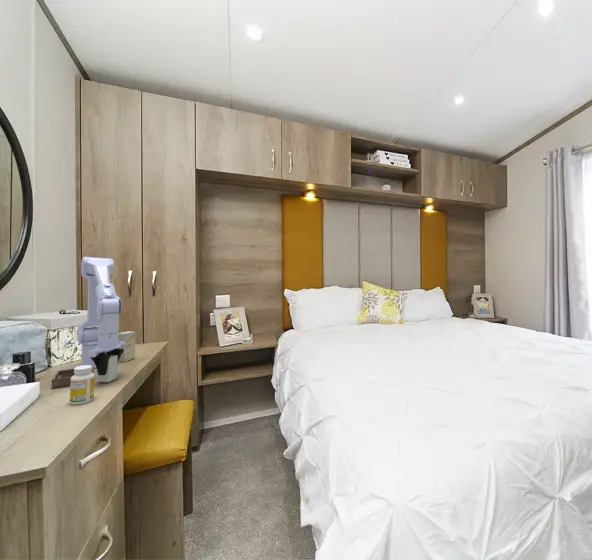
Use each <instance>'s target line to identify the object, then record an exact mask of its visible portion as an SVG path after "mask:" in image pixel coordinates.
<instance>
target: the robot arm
mask: <svg viewBox="0 0 592 560" xmlns="http://www.w3.org/2000/svg"><path fill="white" fill-rule="evenodd" d="M114 269H115V262H114V259H113V258H109V257H108V258H107V257H91V256H83V257H82V258H81V263H80V275H81V277H82V278H83V279H86V282H87V308H86V309H87V315H86V316H87V319H85V320H84V321H82V322H81V323H79V325H78V326H77V327H78V328H77V333H76V334H77V335H76V336H77V337H76V338H77V339H76V340H77V344H79V345H81V362H80V363H81V364H78V365H76V366H75V367H74V368H76V367H78V366H83V365H91V366H94V369H96V372H97V371H98V375H106V372H107V365H108V361H109V358H110V356H111V355H118V360H117V365H118V364H119V362H118V361H119V359H120V357H121V355H122V353H123V352H124V349H120V348H121V347H125V341H120V342H118V333H119V328H120V327H119V326H120V325H119V323H120V314H121V313H122V307H123V306H122V304H123V303H122V299H121V298H120V297H119V295H117V292H116V288H115V285H114V284H113V283H111V282H110V276H111V275H112V274H113V272H114V271H115V270H114Z"/></svg>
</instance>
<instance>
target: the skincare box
mask: <svg viewBox="0 0 592 560" xmlns="http://www.w3.org/2000/svg"><path fill="white" fill-rule="evenodd" d="M120 341H125V347H121V348H120V349H124V352H123V353H122V355H121V357H120V359H119V362H118V363H126V362H129V361H132V360H131V359H133V358H135V359H136V331H130V330H128V331H127V330H126V331H123V332H122V331H121V332H118V342H120ZM128 360H129V361H128ZM133 360H134V359H133ZM125 361H126V362H125Z"/></svg>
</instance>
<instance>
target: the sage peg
mask: <svg viewBox="0 0 592 560" xmlns="http://www.w3.org/2000/svg"><path fill="white" fill-rule="evenodd" d="M117 360H118V355H111V356H110V358H109V361H108V365H107V372H106V375H98V371H97V370H96V382H97V383H110V382H111V381H113V380H116V379H118V364H117Z"/></svg>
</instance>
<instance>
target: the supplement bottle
mask: <svg viewBox="0 0 592 560" xmlns="http://www.w3.org/2000/svg"><path fill="white" fill-rule="evenodd" d="M77 366H78V365H77ZM73 369H74V374H75V375H73V376H72V377H71V383H70V386H69V387H70V389H69V404H70V405H73V406H74V405H75V406H78V405H83V404H87V403H89V402H91V401H93V400H94V398H95V376H96V375H95V372H94V373H92V372H91V371H92V366H91V365H83V366H78V367H76V368H75V367H74V368H73Z"/></svg>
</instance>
